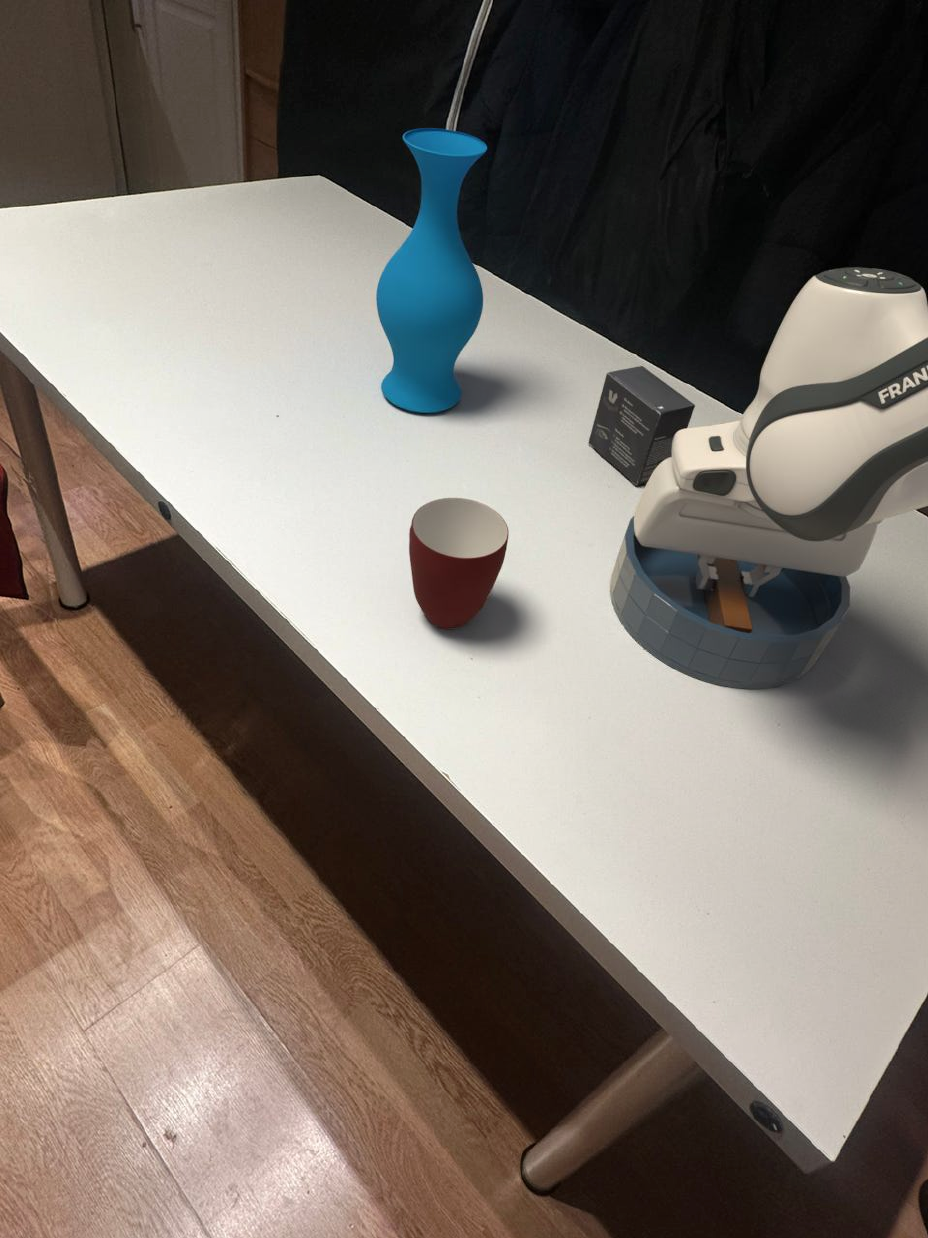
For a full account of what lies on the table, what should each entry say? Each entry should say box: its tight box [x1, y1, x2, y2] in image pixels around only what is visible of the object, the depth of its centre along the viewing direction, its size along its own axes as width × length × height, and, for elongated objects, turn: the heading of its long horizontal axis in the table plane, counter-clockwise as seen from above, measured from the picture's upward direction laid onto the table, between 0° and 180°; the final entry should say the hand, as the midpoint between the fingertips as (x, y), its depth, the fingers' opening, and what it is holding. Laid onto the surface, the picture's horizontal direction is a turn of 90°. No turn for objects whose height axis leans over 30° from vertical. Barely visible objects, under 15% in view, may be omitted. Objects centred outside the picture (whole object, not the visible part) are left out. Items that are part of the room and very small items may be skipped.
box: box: [587, 365, 696, 486], centre depth 93 cm, size 9×6×10 cm, turn 31°
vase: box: [375, 127, 488, 414], centre depth 91 cm, size 12×13×28 cm
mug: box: [408, 497, 509, 630], centre depth 71 cm, size 10×8×10 cm
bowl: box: [609, 515, 851, 690], centre depth 77 cm, size 21×21×6 cm
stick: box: [704, 558, 753, 633], centre depth 78 cm, size 13×2×3 cm, turn 174°
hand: (723, 588), depth 78 cm, fingers closed on stick, 2 cm apart
